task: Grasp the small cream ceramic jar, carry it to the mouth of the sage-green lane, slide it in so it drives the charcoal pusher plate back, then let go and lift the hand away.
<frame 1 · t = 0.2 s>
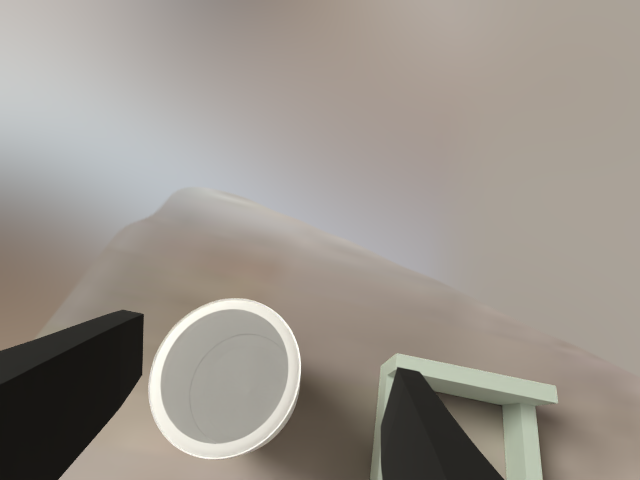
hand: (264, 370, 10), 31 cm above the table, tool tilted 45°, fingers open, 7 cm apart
jar: (250, 393, 38), on the table
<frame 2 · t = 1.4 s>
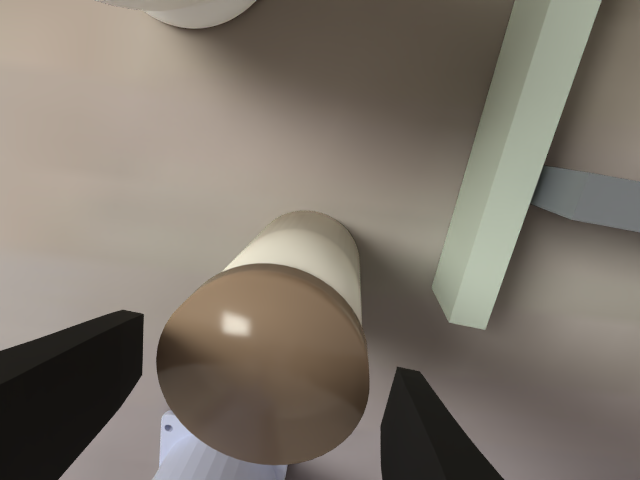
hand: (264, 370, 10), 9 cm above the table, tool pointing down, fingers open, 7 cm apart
spice jar: (306, 262, 18), on the table
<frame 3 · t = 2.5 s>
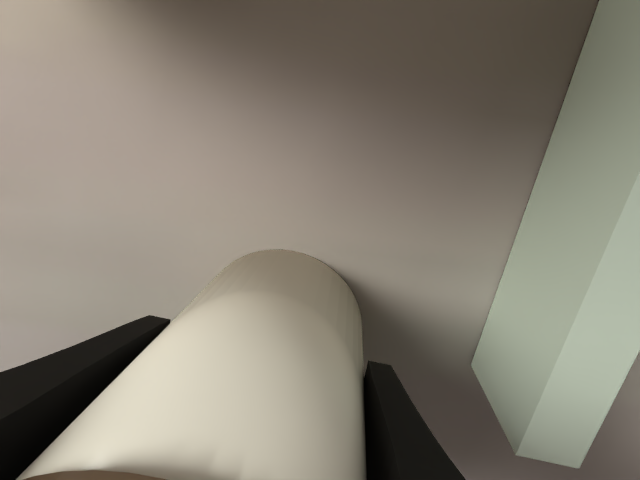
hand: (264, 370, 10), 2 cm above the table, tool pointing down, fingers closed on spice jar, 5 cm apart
spice jar: (281, 325, 12), on the table, touching gripper
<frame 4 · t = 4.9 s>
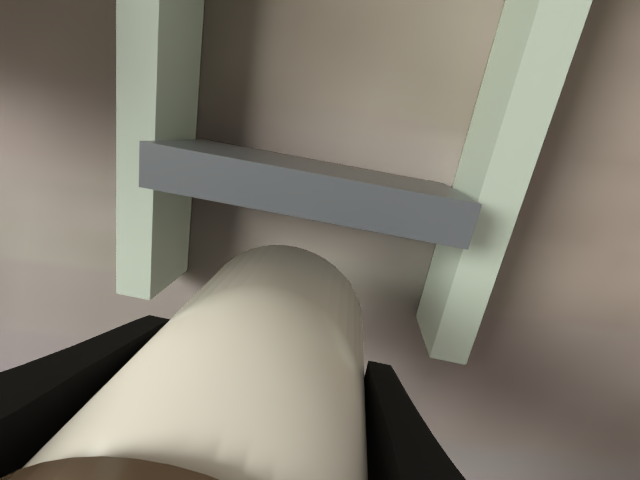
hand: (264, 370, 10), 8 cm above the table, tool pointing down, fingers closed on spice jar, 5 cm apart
pusher plate: (312, 184, 14), point 3 cm above the table, slide at 0.0 cm
lane: (331, 108, 16), on the table
spice jar: (282, 320, 12), point 6 cm above the table, touching gripper
when the fingers open (3 cm above the table, at t = 7.6 s): spice jar stays where it is, on the table.
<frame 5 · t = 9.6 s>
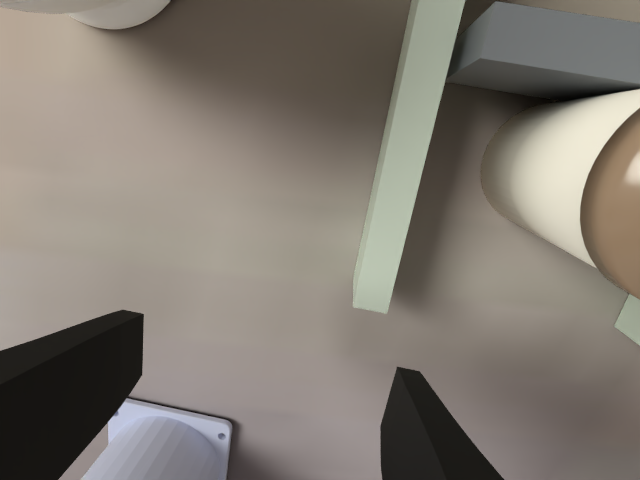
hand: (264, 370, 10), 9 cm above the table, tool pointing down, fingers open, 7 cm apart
pusher plate: (618, 74, 13), point 3 cm above the table, slide at 4.6 cm
lane: (559, 123, 16), on the table
spice jar: (543, 167, 16), on the table
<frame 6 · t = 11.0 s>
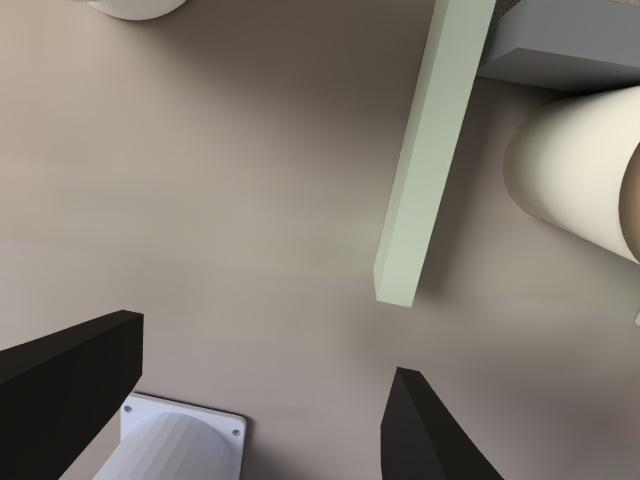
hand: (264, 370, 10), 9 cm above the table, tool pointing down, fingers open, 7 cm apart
lane: (583, 117, 16), on the table
spice jar: (566, 161, 16), on the table
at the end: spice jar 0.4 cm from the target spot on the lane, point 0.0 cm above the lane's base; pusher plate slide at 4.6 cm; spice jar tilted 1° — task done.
